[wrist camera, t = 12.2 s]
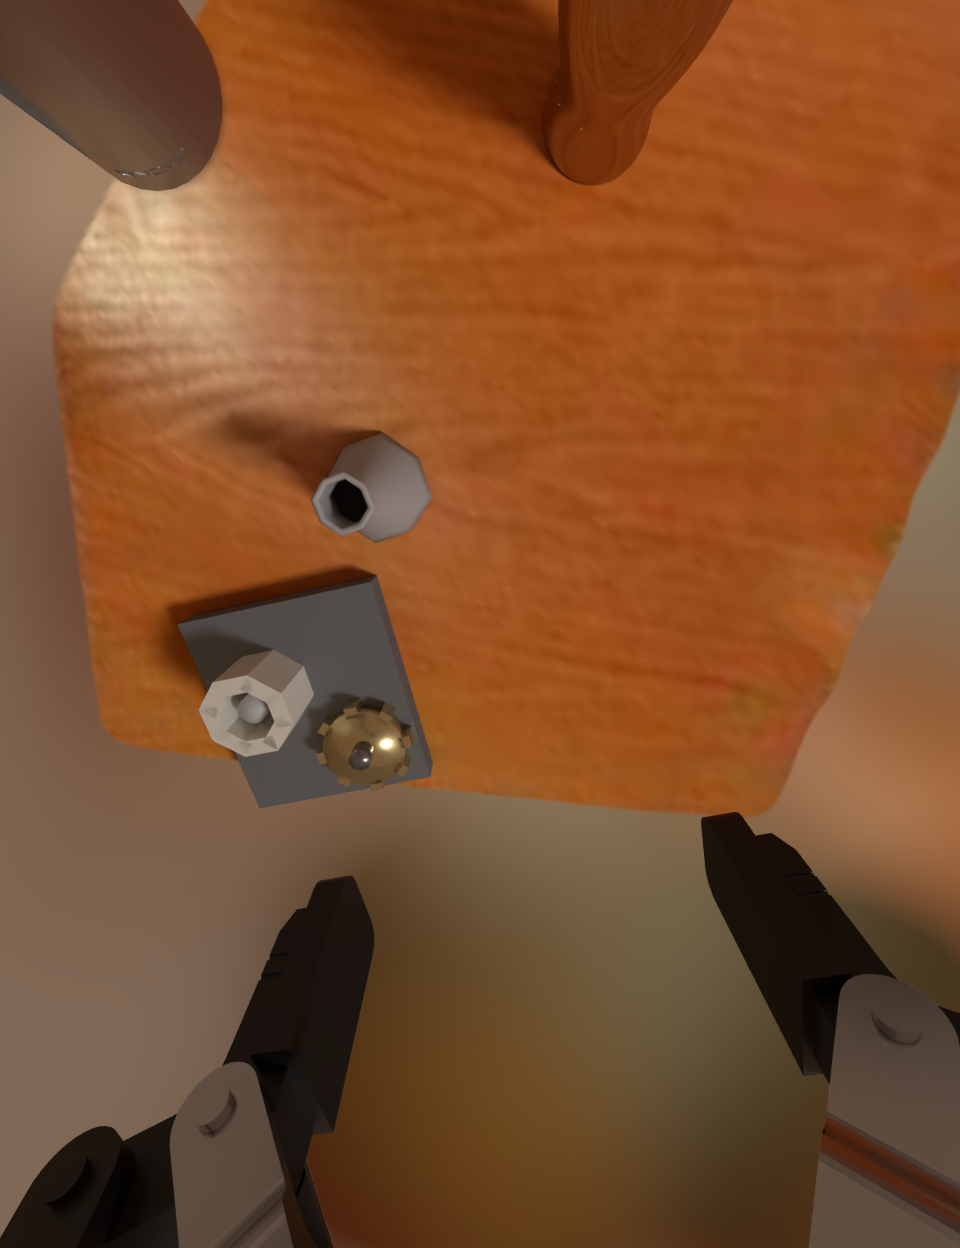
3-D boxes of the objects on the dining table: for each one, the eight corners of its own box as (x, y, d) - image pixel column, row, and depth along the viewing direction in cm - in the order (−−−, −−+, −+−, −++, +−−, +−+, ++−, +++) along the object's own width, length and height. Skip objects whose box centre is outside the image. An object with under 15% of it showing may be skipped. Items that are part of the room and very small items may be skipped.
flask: (307, 479, 36) (244, 490, 26) (384, 412, 34) (346, 399, 25) (375, 559, 38) (338, 596, 28) (450, 499, 36) (438, 517, 27)
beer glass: (572, 13, 27) (664, -447, 13) (680, 84, 28) (873, -275, 14) (514, 157, 30) (541, -108, 15) (616, 219, 31) (730, 22, 16)
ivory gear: (221, 660, 38) (188, 687, 34) (295, 645, 38) (271, 670, 34) (249, 728, 40) (222, 761, 36) (321, 714, 40) (301, 746, 36)
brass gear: (308, 708, 40) (295, 728, 37) (400, 689, 39) (393, 708, 36) (338, 785, 42) (327, 810, 39) (425, 769, 41) (420, 793, 39)
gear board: (192, 615, 39) (147, 641, 34) (376, 575, 38) (359, 595, 33) (269, 793, 45) (241, 838, 40) (432, 762, 44) (425, 805, 38)
